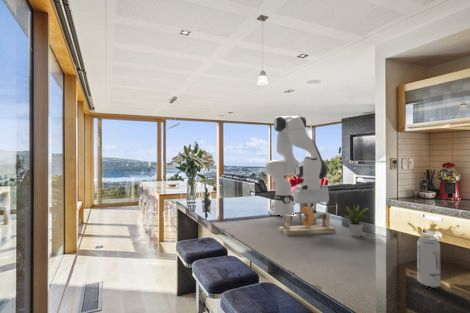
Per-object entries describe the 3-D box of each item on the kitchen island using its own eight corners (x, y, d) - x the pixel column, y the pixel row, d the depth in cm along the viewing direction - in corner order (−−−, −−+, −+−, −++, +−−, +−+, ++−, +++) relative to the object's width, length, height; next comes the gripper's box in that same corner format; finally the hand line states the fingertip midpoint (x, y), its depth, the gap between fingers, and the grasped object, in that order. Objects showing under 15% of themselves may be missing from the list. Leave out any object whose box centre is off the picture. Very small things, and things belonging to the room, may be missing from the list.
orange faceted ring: (301, 223, 161) (300, 206, 161) (304, 223, 162) (304, 206, 162) (309, 228, 151) (309, 209, 151) (313, 227, 152) (313, 209, 152)
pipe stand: (278, 230, 159) (278, 213, 159) (323, 227, 166) (323, 210, 166) (287, 235, 147) (287, 217, 147) (335, 232, 154) (335, 214, 154)
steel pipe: (283, 220, 155) (283, 214, 155) (325, 217, 161) (325, 212, 161) (285, 221, 152) (285, 215, 152) (329, 219, 158) (329, 213, 158)
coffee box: (314, 222, 178) (314, 196, 178) (316, 224, 172) (316, 198, 172) (299, 222, 179) (299, 196, 179) (301, 224, 173) (300, 197, 173)
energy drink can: (436, 291, 86) (435, 241, 86) (414, 284, 90) (413, 237, 91) (443, 286, 89) (443, 238, 89) (422, 279, 94) (421, 234, 94)
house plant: (375, 240, 139) (375, 207, 139) (345, 238, 141) (345, 206, 142) (368, 233, 153) (368, 202, 153) (341, 231, 155) (340, 201, 155)
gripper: (325, 184, 163) (325, 209, 163) (292, 185, 158) (292, 210, 158) (331, 185, 157) (331, 210, 157) (297, 186, 152) (297, 212, 152)
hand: (311, 210), depth 157 cm, fingers closed
